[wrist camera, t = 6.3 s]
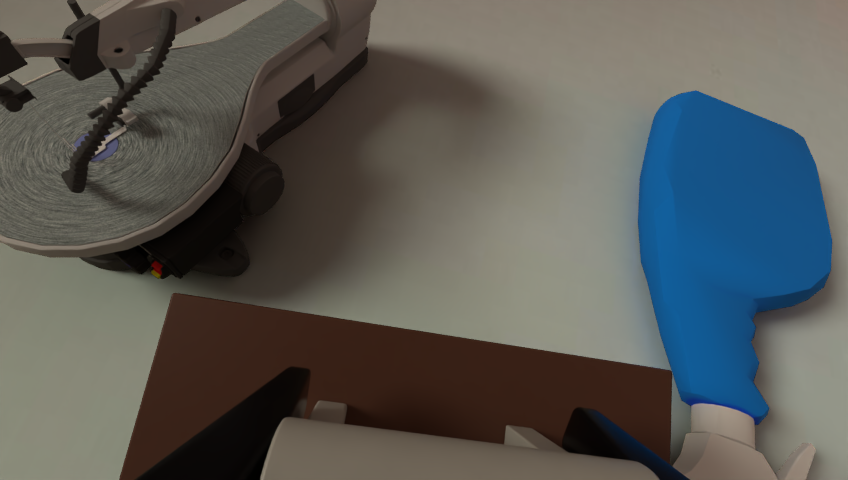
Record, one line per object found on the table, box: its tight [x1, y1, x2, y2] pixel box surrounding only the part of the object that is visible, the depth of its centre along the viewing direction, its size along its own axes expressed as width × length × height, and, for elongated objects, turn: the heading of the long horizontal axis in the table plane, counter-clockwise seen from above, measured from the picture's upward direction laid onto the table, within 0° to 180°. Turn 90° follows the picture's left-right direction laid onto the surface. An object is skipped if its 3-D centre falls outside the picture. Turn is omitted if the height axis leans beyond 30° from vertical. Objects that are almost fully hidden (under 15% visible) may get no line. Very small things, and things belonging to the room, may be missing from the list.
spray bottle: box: [638, 91, 832, 480], centre depth 21 cm, size 3×11×24 cm
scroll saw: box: [0, 0, 377, 279], centre depth 17 cm, size 20×11×12 cm
